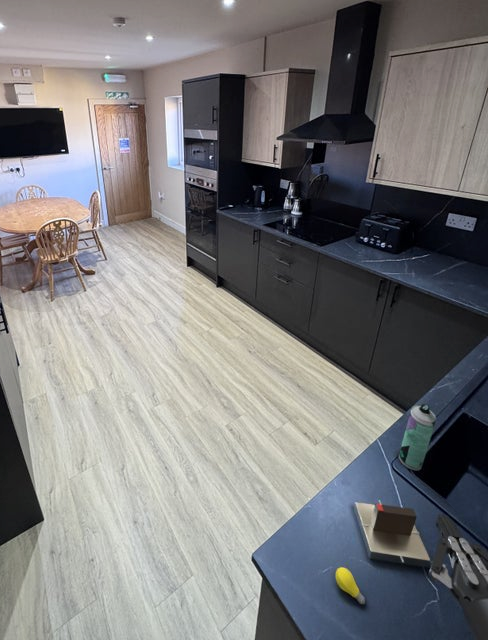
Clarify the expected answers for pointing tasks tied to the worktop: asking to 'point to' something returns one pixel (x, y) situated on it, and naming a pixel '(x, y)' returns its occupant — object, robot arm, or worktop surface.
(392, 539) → the panel
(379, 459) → the worktop surface
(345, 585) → the light bulb
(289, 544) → the worktop surface
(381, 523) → the brown rectangular block
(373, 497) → the worktop surface
